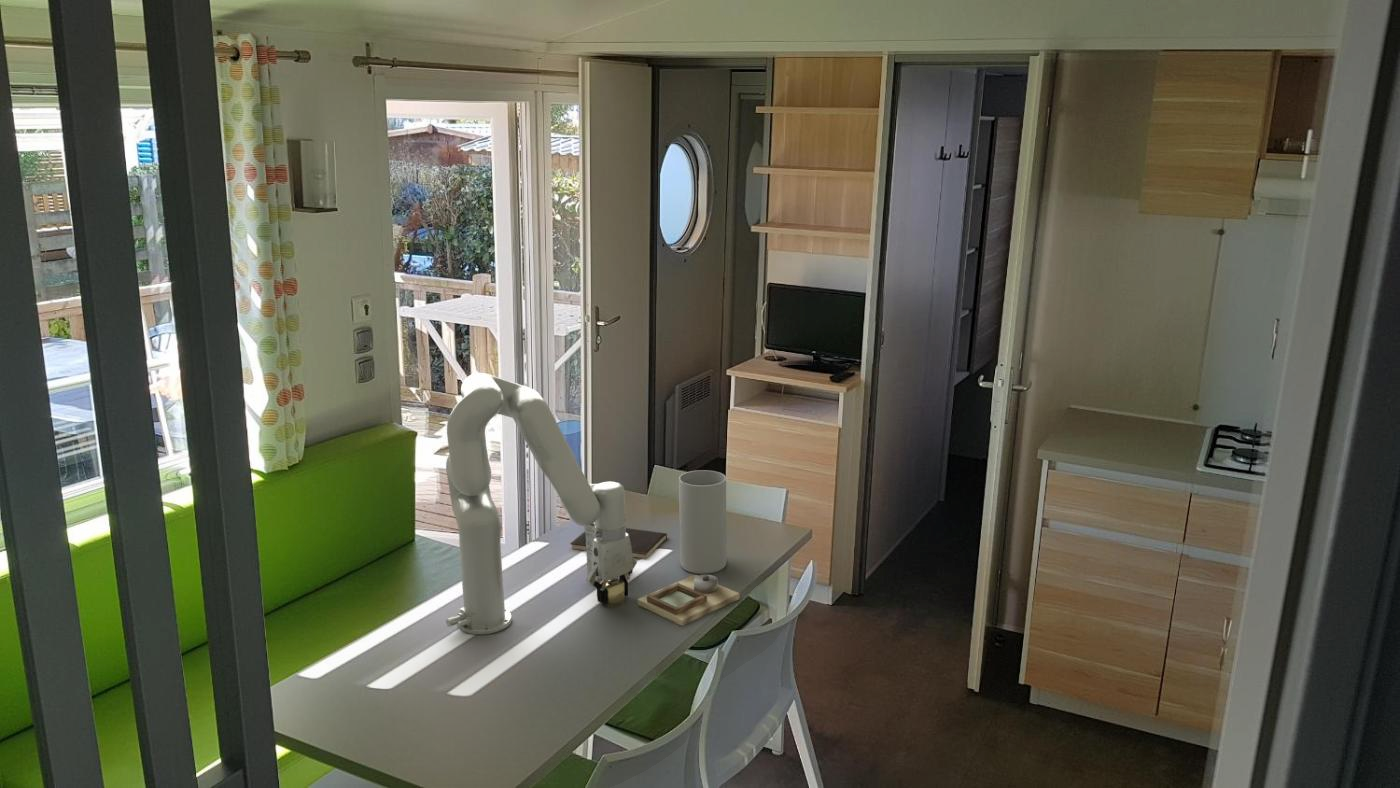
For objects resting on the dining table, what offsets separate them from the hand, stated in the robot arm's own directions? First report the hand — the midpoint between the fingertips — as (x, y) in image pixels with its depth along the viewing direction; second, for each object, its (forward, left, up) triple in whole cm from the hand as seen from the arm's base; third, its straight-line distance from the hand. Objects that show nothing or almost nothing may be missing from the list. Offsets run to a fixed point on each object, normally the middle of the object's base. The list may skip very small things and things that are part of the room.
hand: (612, 598), depth 259 cm
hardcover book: (+25, +27, -2) cm, 37 cm away
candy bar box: (+9, +13, -1) cm, 16 cm away
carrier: (+13, -14, -1) cm, 19 cm away
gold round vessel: (0, 0, -1) cm, 1 cm away
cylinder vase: (+31, -1, -1) cm, 31 cm away
